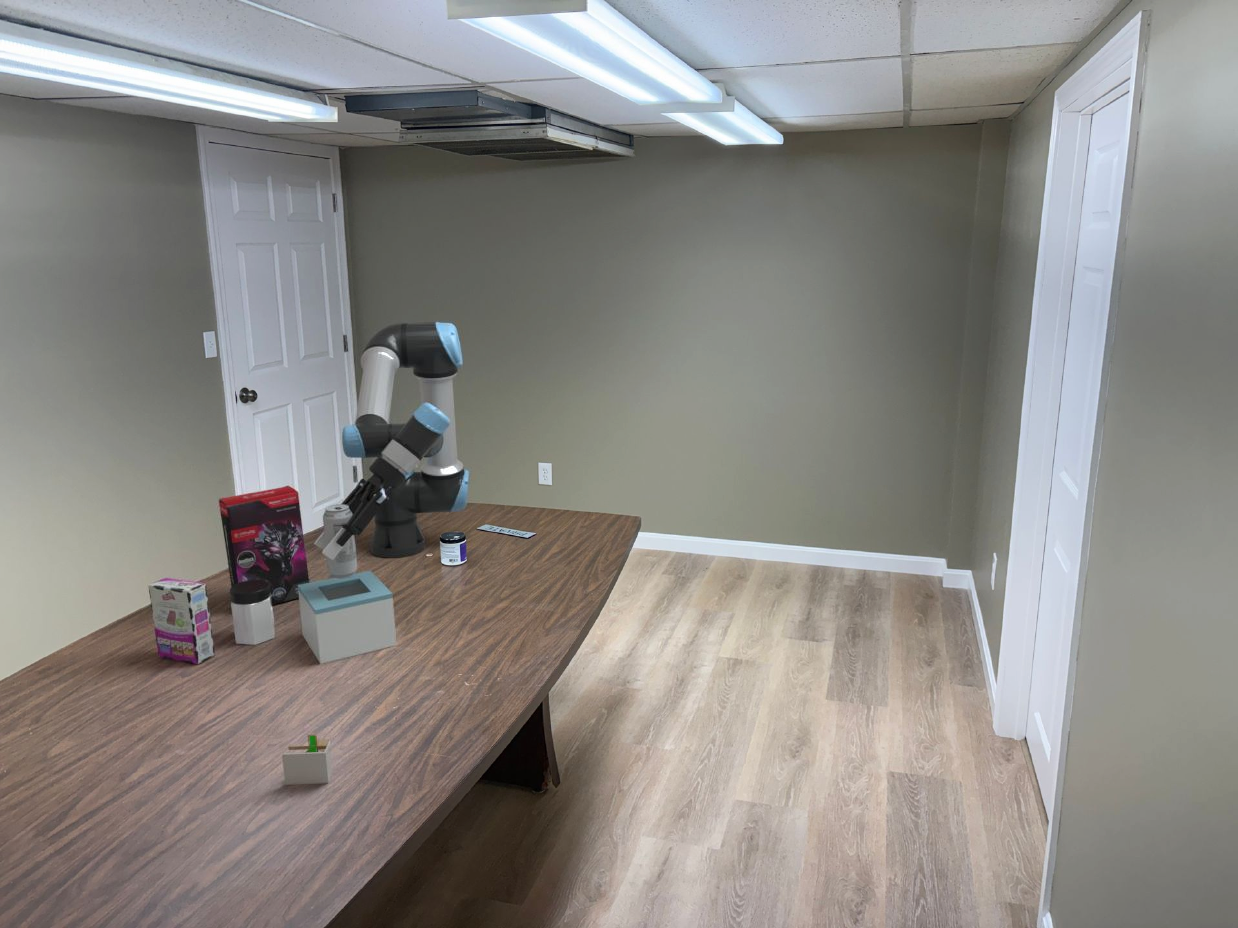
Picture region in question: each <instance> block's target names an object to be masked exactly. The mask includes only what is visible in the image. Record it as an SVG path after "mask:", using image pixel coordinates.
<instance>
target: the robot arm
mask: <svg viewBox="0 0 1238 928" xmlns="http://www.w3.org/2000/svg"><path fill="white" fill-rule="evenodd" d="M463 361H464V360H463V354H462V348H461V342H460V338H459V333H458V329H457V326H455V325H454V324H453V323H451V322H439V321H433V322H432V321H431V322H430V321H429V322H408V323H406V322H405V323H403V322H399V323H398V322H397V323H392V324H389V325H387V326H384V327H382V328H381V329H379V330H377V331H376V332H375V333H374V334H373V335H372V336H371V337H370V338H369V339H368V341H367V342H366V344H365V345H364V347H363V349H362V352H361V356H360V365H361V368H362V370H363V371H362V376H361V382H360V389H359V396H358V401H357V407H356V414H355V421H354V423H352V424H348V425H345V426H344V427H343V428H342V433H341V434H342V435H341V440H342V441H341V442H342V450H343V453H344V455H345V457H347V458H349V459H350V458H355V459H356V458H361V459H367V458H368V459H369V458H376V459H375V460H374V462H372V464H371V465H370V466H369V467H368V470H369V472H371V474H373V475H372V476H371V477H369V478H368V479H367V480H366V479H364V478H361V479H359V480H360V481H358V483H357V484H356V486H355V487H354V489H353V490H352V491H351V492H350V493H349V494H348V496H347V497H346V498H344V500H342V503H341V504H345V505H348V506H349V509H350V511H351V512H352V514H353V516H352V517H351V519H350V520H349V522H348V523H347V525H342V528H341V529H340V531H339V532H338V533H337V534H336V535H335V537H334V538H333V539H332V540H331V542H330V543H329V544H328V545H327V546H325V535H324V531H323V532H322V533H321V534H320V535H319V536H318V538H317V539H316V540H315V542H314V545H315V546H317V548H320V549H321V550H322V551H321V554H323V555H324V556H326V558H327V557H329V558H330V559H332V560H333V559H334V558H335V557H336V556H337V555H338V553H339V552H340V551H341V550H342V548H343V547H344V546H345V545H346V543H347V542H348V541H349V540H350V539H351V537H352V536H353V535H354V536H356V535H357V536H361V534H362V533H363V531H365V529H366V528H367V527H368V525H369V524H370V522H371V521H372V520H373V519H374V527H373V532H372V535H371V539H370V542H369V544H370V545H369V547H370V548H369V549H370V553H371V554H372V555H373V556H375V557H379V558H392V559H393V558H403V557H409V556H412V555H415V554H418V553H421V552H422V551H423V550H425V548H426V541H425V540H426V539H425V537H424V535H423V532H422V529H421V527H420V525H419V522H418V515H417V514H427V513H428V514H429V513H430V514H431V513H433V514H434V513H452V512H460V511H464V509H466V508H467V504H468V503H467V501H468V493H469V492H468V491H469V477H470V476H469V475H470V471H469V470H468V469H464V463H463V462H461V461H460V460H459V459H458V447H457V432H456V430H457V429H456V415H455V404H454V403H455V400H454V398H455V397H454V384H453V379H454V377H455V376H456V375H457V374H458V369H459V368H461V367H462V366H463ZM402 368H403V369H404V368H405V369H409V368H410V369H412V372H413V376H414V377H415V378H416V379H417V380H419V385H420V386H419V388H420V390H419V391H420V402H421V405H420V406H419V407H418V409H416V410H415V411H414V412H413V414H412V415H411V417H410V418H409V419H408V420H407V422H405V423H404V422H403V423H402V422H401V423H390V416H391V415H390V414H391V407H392V399H393V397H392V396H393V389H394V380H395V375H396V374H397V373H398V371H399V369H402ZM423 458H425V462H424V463H423V464H422V465H421V467H420V470H421V471H415V469H418V467H419V466H418V464H419V463H420V462H421V460H423Z"/></svg>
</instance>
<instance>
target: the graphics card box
mask: <svg viewBox="0 0 1238 928" xmlns="http://www.w3.org/2000/svg"><path fill="white" fill-rule="evenodd" d="M218 507H219V513H220V517H221V518H220V519H221V525H222V526H221V527H222V531H223V537H224V538H223V539H224V544H225V551H226V557H227V565H228V572H229V573H228V574H229V580H230V588H231V587H232V586H233V585H235V584H237V583H240V582H244V581H249V580H264V581H267V582H269V584H270V589H271V601H272V606H273V605H277V604H281V603H285V602H287V601H288V602H289V601H293V600H295V599H299V593H298V585H301V584H306V583H310V578H309V570H308V562H307V555H306V545H305V539H304V538H305V537H304V529H303V520H302V514H301V504H300V495H299V491H297V490H296V489H295V488H294V487H292V486H290V485H285V486H282V487H278V488H271V489H267V490H259V491H254V492H249V493H243V494H238V495H233V496H228V497H222V498H219V499H218Z"/></svg>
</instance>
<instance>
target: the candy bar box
mask: <svg viewBox="0 0 1238 928" xmlns="http://www.w3.org/2000/svg"><path fill="white" fill-rule="evenodd" d="M147 586H148V592H149V601H150V605H151V611H152V621H153V626H154V634H155V641H156V647H157V648H156V649H157V653H158V658H163V659H168V660H172V661H179V662H183V663H188V664H193V665H199V664H201V663H204V662H205V661H207V660H210V659H212V658H213V657H214V656H216V653H215V645H214V637H213V629H212V621H211V615H210V613H211V612H210V605H209V598H208V591H207V583H206V582H205V583H204V582H199V581H198V582H197V581H190V580H185V579H184V580H183V579H176V578H170V577H165V578H162V579H160V580H157V581H155V582H153V583H150V584H147Z"/></svg>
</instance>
